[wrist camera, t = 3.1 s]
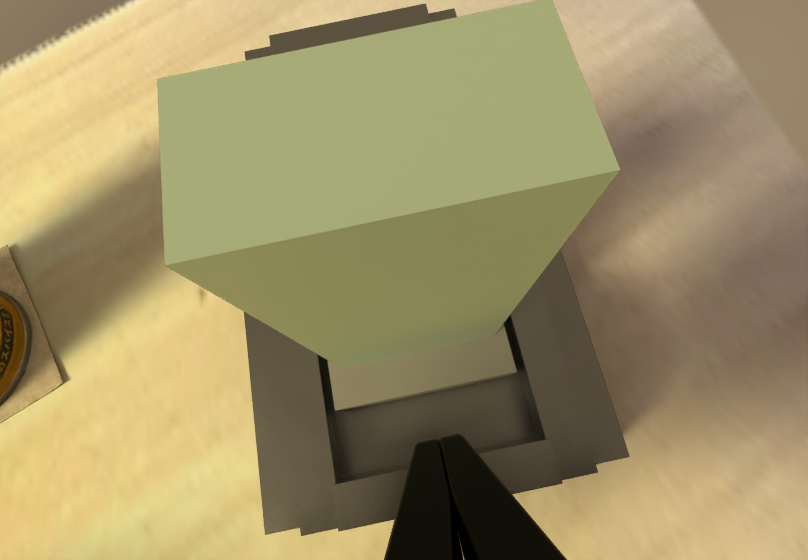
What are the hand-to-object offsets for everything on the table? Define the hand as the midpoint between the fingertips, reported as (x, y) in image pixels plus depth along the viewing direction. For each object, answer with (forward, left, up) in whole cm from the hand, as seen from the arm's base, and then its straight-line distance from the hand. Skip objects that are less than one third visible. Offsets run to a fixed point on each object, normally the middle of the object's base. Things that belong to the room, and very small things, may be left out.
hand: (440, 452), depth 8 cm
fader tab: (+3, -3, -7) cm, 8 cm away
